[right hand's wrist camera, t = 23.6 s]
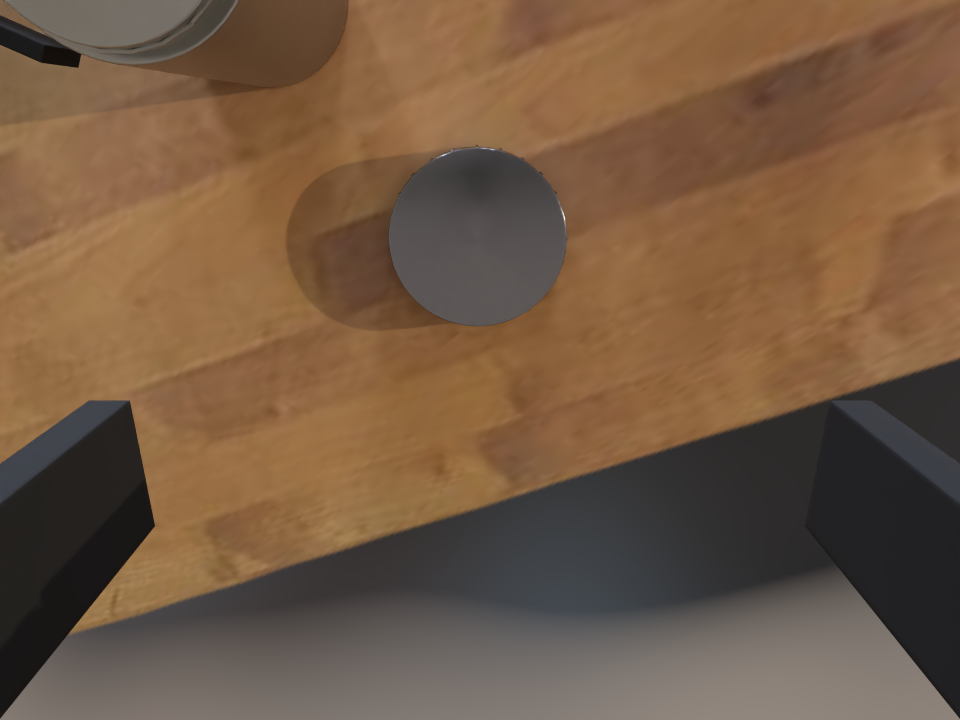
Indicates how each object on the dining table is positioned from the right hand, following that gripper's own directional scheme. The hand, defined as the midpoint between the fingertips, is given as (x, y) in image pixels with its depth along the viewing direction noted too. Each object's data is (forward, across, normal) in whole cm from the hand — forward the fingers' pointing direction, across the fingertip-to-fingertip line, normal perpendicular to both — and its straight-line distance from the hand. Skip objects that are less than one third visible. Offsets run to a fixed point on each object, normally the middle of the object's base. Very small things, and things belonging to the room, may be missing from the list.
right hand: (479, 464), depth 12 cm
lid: (+26, 0, 0) cm, 26 cm away
